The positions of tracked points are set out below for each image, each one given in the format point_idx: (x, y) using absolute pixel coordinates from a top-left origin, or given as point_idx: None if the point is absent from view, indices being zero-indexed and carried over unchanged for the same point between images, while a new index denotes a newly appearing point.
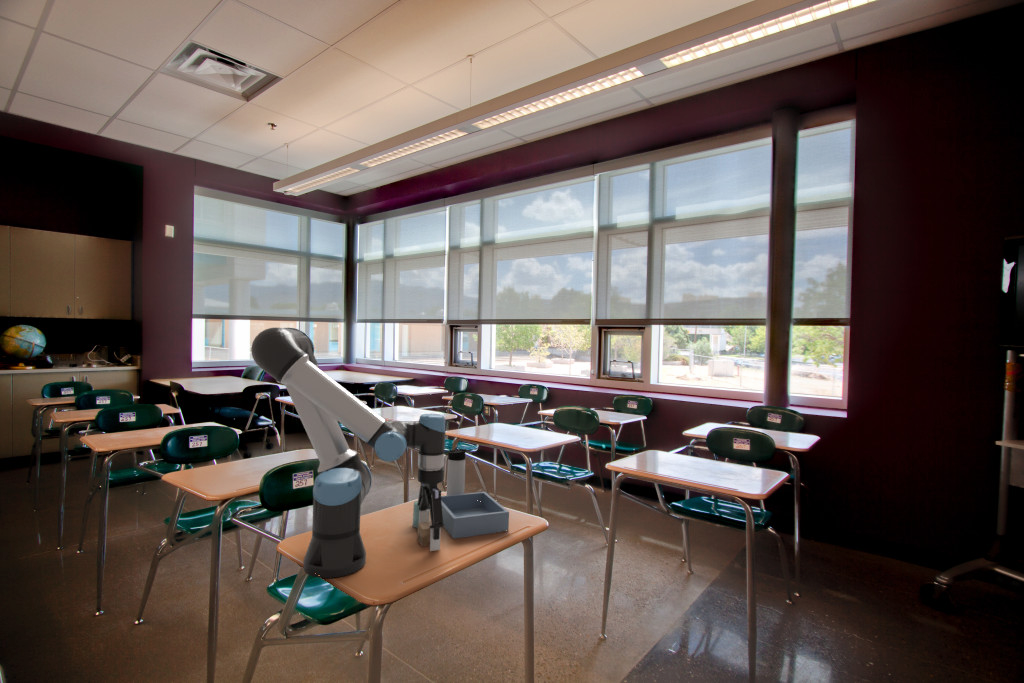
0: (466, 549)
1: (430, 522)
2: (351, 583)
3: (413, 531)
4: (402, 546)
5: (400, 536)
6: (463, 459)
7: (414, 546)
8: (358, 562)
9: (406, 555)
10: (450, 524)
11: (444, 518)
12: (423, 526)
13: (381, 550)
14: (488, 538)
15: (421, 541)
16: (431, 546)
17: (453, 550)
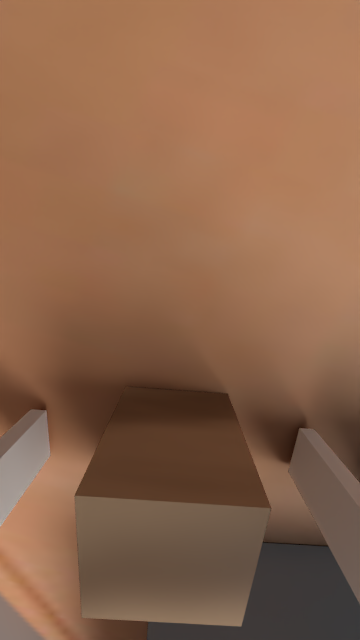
0: (22, 543)
1: (218, 595)
2: None
3: (350, 407)
4: (166, 284)
5: (325, 316)
6: None
7: (138, 351)
8: None
9: (24, 268)
10: (213, 628)
11: (343, 620)
12: (144, 524)
13: (159, 114)
14: (105, 631)
15: (124, 403)
16: (9, 433)
17: (25, 499)
